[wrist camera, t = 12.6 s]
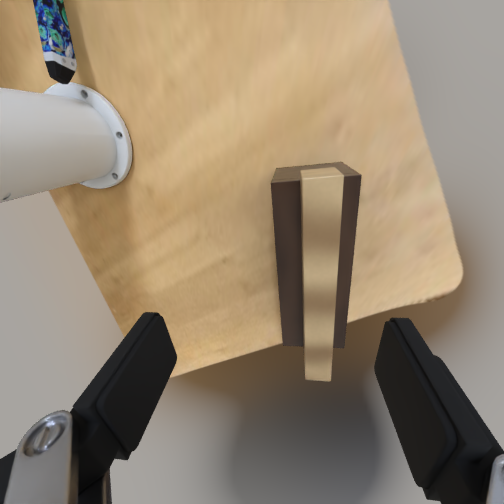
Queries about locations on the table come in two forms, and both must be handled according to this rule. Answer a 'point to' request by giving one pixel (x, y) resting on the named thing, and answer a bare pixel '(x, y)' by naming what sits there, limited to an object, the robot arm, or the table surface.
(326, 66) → the table surface
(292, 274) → the dark brown channel bracket
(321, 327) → the stick
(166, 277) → the table surface
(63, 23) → the multicoloured piece
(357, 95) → the table surface
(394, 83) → the table surface
